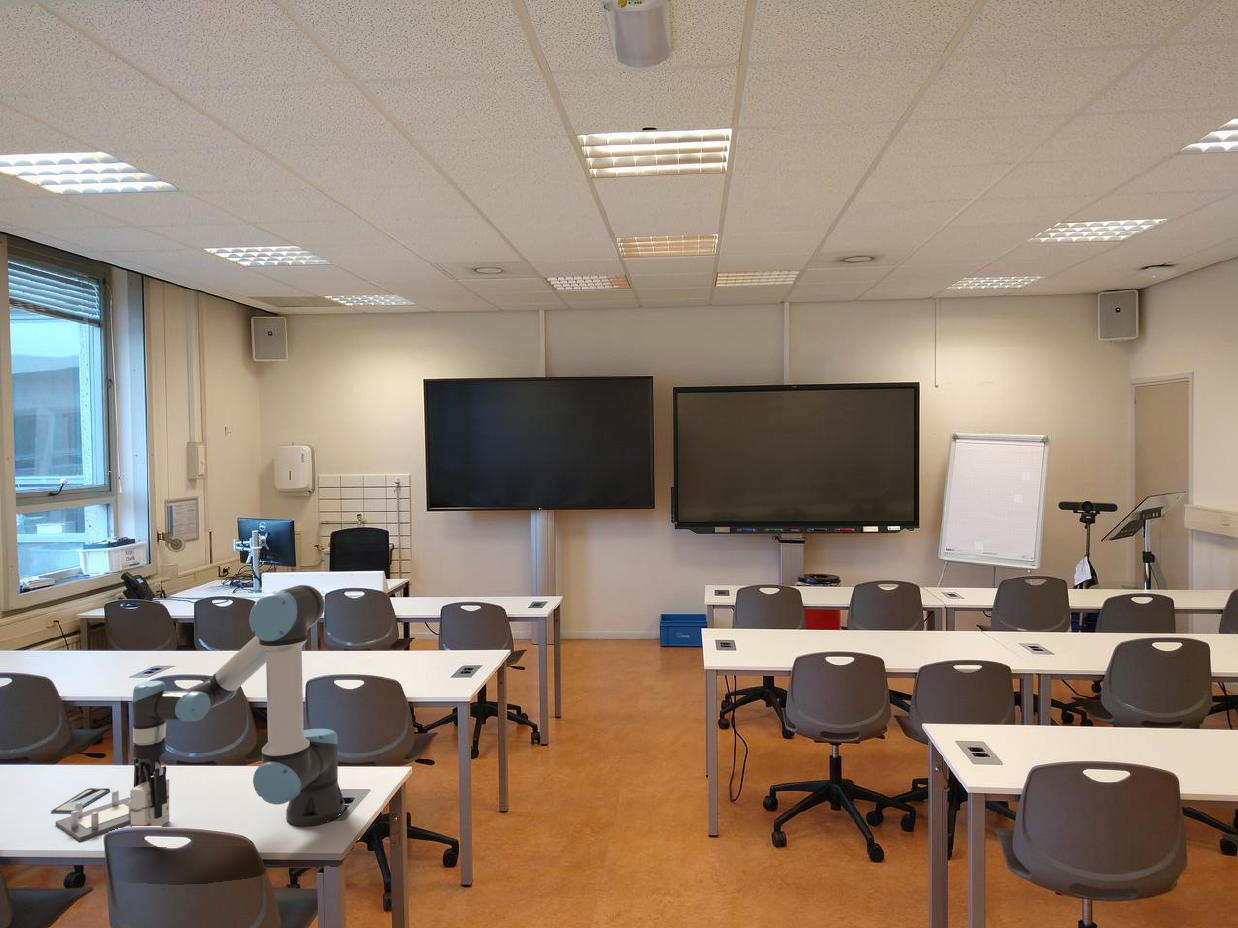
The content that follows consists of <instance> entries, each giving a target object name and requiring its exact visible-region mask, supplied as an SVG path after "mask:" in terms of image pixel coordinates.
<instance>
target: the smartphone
mask: <svg viewBox="0 0 1238 928" xmlns="http://www.w3.org/2000/svg"><path fill="white" fill-rule="evenodd" d="M110 792H111V788H108V787H107V788H104V787H103V788H102V787H101V788H100V787H95V788H93V787H91V788H86V789H85V790H83V791H81V792H80V793H78V794H76V795H75V796H73V797H71V798H70V799H68V800H67V801H65V802H63V803H61V804H60V805H59V806H57V807H55V808H54V809H51V811H50V813H51V814H71V812H72V811H75V803H77V802H82V809H84V808H85V807H87V806H89V805H90V804H92V803H94V802H95V801H97V800H99V799H101V798H102V797H103V796H105V795H107V794H109V793H110Z"/></svg>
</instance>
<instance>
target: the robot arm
mask: <svg viewBox="0 0 1238 928" xmlns="http://www.w3.org/2000/svg"><path fill="white" fill-rule="evenodd" d="M325 607H326V606H325V599H324V597H323V595H322V593H321V592H320V590H318V589H316V588H315V587H314V586H311V585H306V584H299V585H295V586H292V587H287V588H285V589H284V588H283V589H280V590H276V591H272V592H270V593H268V594H265V595H263V596H262V597H260V598H259V599H258V600H257V601H256V602H255V603H254V604H253V606H252V608H251V610H250V614H249V620H248V621H249V626H250V629H251V632H252V633H254V635H255V636H254V637H253V638H252V639H251V640H249V641H248V642H247V643H246V644H244V646H242V648H241V649H240V650H238V652H237V653H235V654H234V655H233V656H232V657H231V658H230V659H229V660H227V662H225V663H224V665H222V666H221V667H220V668H219V669H218V670H217V671H216V672H214V674H213V675H212V676H210V677H209V678H208V679H207V680H206V681H203V682H201V683H198V684H196V685H193V686H192V687H189V688H187V689H184V690H168V689H167V687H166V682H164V681H163V680H162V681H161V680H151V681H149V680H148V681H144V682H141V683H138V684H137V685H135V686H134V688H133V689H132V690H133V692H132V701H131V703H132V716H133V717H132V719H133V721H132V723H133V725H132V742H133V745H132V751H133V753H132V756H133V758H134V759H133V767H134V769H133V771H134V772H133V788H134V787H136V786H138V785H140V784H142V783H144V782H146V781H148V782H149V788H150V791H151V801H152V805H151V806H149V807H150V826H163V825H164V824H163V808H162V805H163V804H166V803H167V789H166V779H167V777H166V776H167V766H166V765H164V766H162V762H161V759H160V758H161V756H162V755H164V754H165V753H166V751H167V738H166V735H167V734H166V732H167V731H166V730H167V729H166V728H167V726H168V724H167V721H176V722H177V721H179V722H187V723H188V722H198V721H201V720H203V719H204V718H205V717H206V715H207V714H208V713H209V710H210V709H212V708H214V707H217V706H219V705H221V704H224V703H226V702H228V701H229V700H230V699H232V698H234V696H236V694H237V693H238V689H239V688H240V687H241V686H242V685H243V684H244V683H245V682H247V681H248V680H249V679H250V678H251V677H252V676H254V674H255V673H256V672H258V671H259V670H260V669H261V668H262V667H263V666H264V665H266V666H265V668H266V669H265V670H266V676H265V677H266V708H267V743H266V744H265V745H264V746H263V747H262V748H261V764H260V765H259V766H258V767H257V769H256V770H255V771H254V774H253V777H252V785H253V787H254V788H253V789H254V791H255V793H256V794H257V796H258V797H261V798H262V800H263V801H265V802H266V803H268V804H271V805H278V806H279V805H283V804H286V803H288V804H287V807H286V813H285V818H286V819H285V821H286V822H287V823H289V824H290V825H293V826H297V825H300V826H299V827H309V826H310V825H313V826H318V825H317V824H319V825H322V824H321V823H323V824H326V823H328V822H327V821H329V822H331V821H330V820H332V819H334V818H335V817H337V816H338V815H339V814H341V813H342V812H343V810H344V811H345V799H344V797H343V794H342V791H341V787H340V785H339V781H338V779H339V778H338V776H339V775H338V773H339V771H338V770H339V769H338V767H339V766H338V764H339V762H338V761H339V759H338V755H339V754H338V752H339V751H338V749H339V748H338V745H339V742H338V734H337V732H336V731H334V730H333V729H329V728H310V729H304V701H303V700H304V695H303V654H302V653H303V650H302V648H303V645H305V643H307V641H308V640H309V639H308V630H309V629H311V628H312V627H313V626H314V625H315V624H316V623H318V622H319V621H320V619H321V618H322V616H323V614H324V612H325ZM343 813H344V812H343ZM343 813H342V814H343ZM342 814H341V815H342ZM337 818H338V817H337ZM334 820H335V819H334ZM332 821H333V820H332ZM325 822H326V823H325ZM163 827H164V826H163ZM310 827H311V826H310Z"/></svg>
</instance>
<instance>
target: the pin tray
mask: <svg viewBox="0 0 1238 928" xmlns="http://www.w3.org/2000/svg"><path fill="white" fill-rule="evenodd" d="M119 791H120V790H118V789H116V790H112V791H111V802H110V803H108V804H104V805H102V806H101V805H100V806H99V807H95V808H92V809H89V810H85V811H83V808H82V802H77V803H75V811H72V812H71V813H70V816H68V817H65V818H60V819H58V820H56V821H55V826H56V827H58V828H59V829H61V830H62V831H64V832H66V833H67V834H68V835H69V836H71V837H72V838H74V839H75V840H77V841H78V842H82V841H85V840H87V839H91V838H93V837H95V836H100V835H102V834H104V833H108V832H109V831H108V830H110V831H112V830H111V829H113V830H115V829H114V828H116V829H119V828H121V827H124V826H127V825H131V801H130V797H125V798H122V799H119V797H120V796H119V795H120V794H119ZM107 831H108V832H107Z"/></svg>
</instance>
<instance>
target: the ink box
mask: <svg viewBox="0 0 1238 928" xmlns="http://www.w3.org/2000/svg"><path fill="white" fill-rule="evenodd" d="M166 789H167V803H166V804H163V805H162V808H163V825H165V824H166V823H168V822H169V821H170V778H166ZM129 794H130V795H129V796H130V797H129V798H130V801H131V823H130V828H131V827H132V826H150V807H149V806H151V805H152V801H151V791H150V788H149V782H148V781H146V782H144V783H142V784H140V785H138V786H136V787H134V786H133V787H132V788H131V789H130V792H129Z"/></svg>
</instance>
